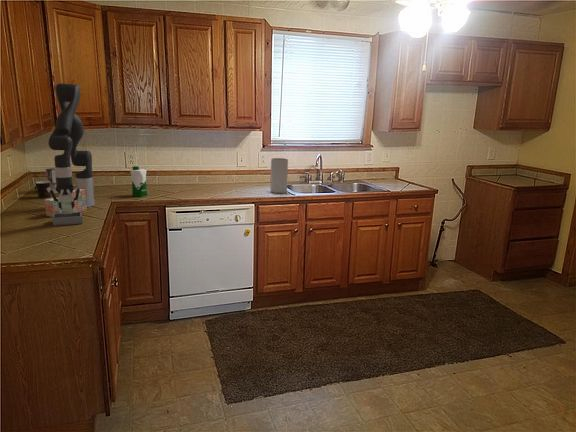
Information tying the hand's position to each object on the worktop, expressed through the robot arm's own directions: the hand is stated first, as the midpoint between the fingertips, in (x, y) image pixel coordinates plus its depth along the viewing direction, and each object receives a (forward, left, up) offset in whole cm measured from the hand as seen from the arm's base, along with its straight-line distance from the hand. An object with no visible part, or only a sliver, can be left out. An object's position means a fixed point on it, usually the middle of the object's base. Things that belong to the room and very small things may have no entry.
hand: (66, 208), depth 220 cm
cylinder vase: (-46, +143, -8) cm, 150 cm away
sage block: (0, 0, -2) cm, 2 cm away
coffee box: (-89, -8, -8) cm, 89 cm away
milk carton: (-60, +44, -8) cm, 74 cm away
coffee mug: (-71, -15, -8) cm, 73 cm away
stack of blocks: (-23, 0, -8) cm, 24 cm away
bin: (0, 0, -8) cm, 8 cm away
